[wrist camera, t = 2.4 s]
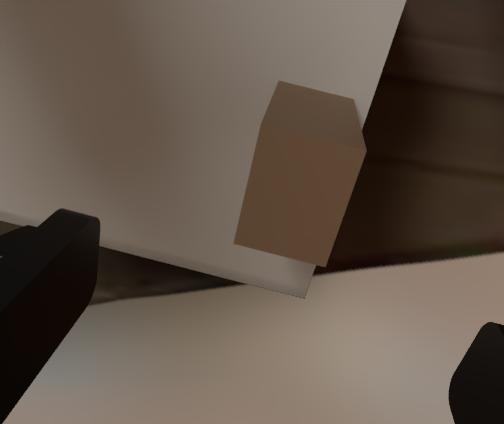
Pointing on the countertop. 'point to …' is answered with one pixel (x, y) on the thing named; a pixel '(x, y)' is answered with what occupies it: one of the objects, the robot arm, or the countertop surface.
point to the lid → (192, 125)
